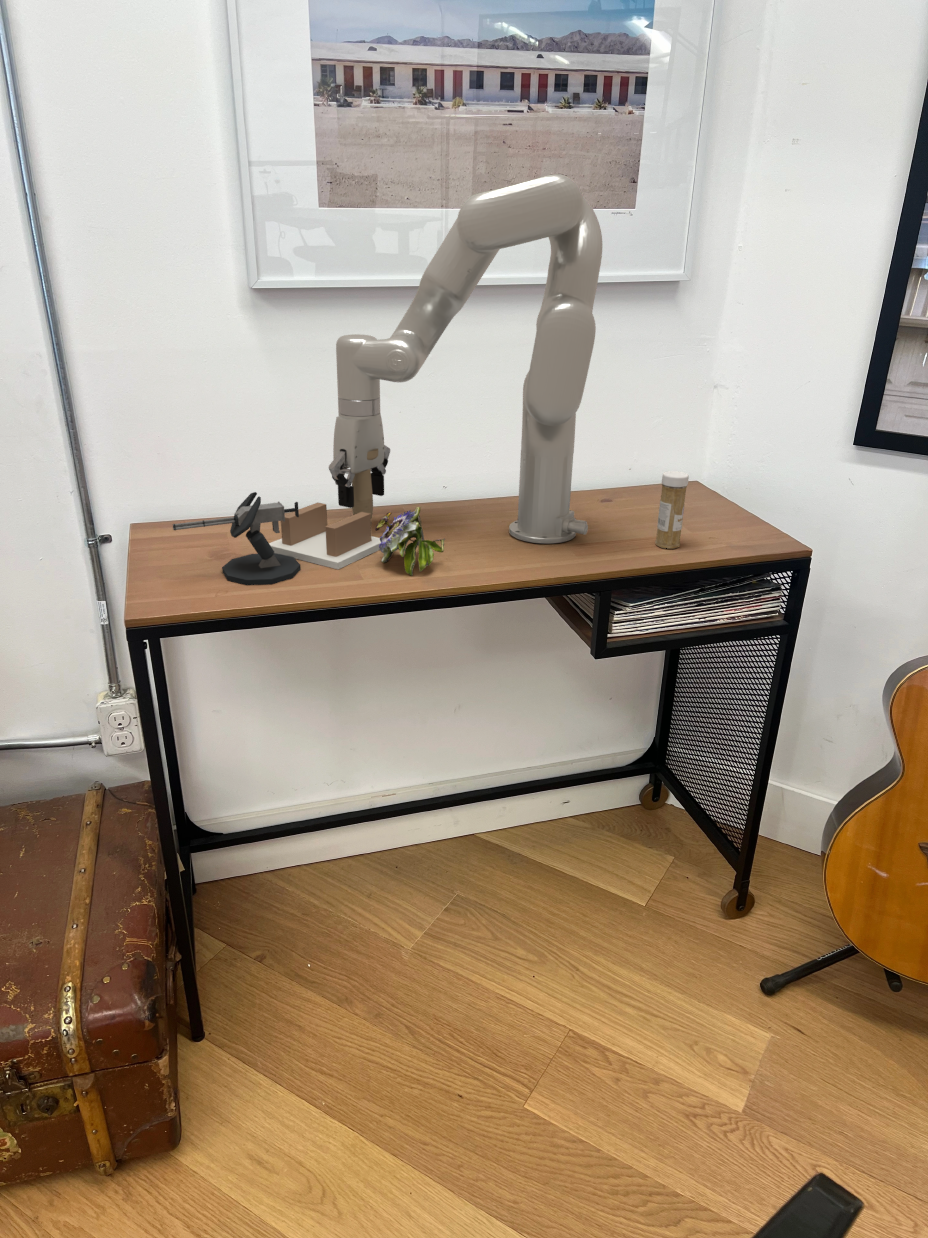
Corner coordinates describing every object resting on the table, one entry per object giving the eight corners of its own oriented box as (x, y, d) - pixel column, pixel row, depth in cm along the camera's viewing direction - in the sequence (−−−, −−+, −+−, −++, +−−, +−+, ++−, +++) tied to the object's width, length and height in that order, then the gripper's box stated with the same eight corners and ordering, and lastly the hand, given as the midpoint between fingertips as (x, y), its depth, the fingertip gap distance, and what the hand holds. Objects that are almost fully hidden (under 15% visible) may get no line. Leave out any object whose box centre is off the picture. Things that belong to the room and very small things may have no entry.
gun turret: (174, 570, 144) (164, 494, 139) (292, 553, 152) (287, 481, 147) (188, 597, 134) (178, 516, 128) (314, 577, 142) (310, 501, 136)
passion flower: (387, 592, 151) (369, 527, 153) (447, 576, 153) (429, 512, 154) (388, 578, 140) (369, 508, 142) (453, 561, 141) (433, 492, 143)
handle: (381, 530, 164) (379, 451, 158) (346, 532, 163) (343, 452, 157) (378, 522, 168) (377, 445, 162) (345, 524, 167) (342, 446, 161)
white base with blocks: (387, 546, 156) (386, 512, 154) (338, 569, 145) (336, 534, 143) (318, 529, 164) (316, 497, 161) (266, 551, 153) (263, 517, 150)
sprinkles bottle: (682, 549, 157) (692, 476, 152) (657, 549, 157) (666, 476, 152) (676, 541, 162) (685, 470, 156) (651, 541, 161) (659, 469, 156)
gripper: (371, 397, 165) (373, 486, 172) (311, 412, 151) (316, 508, 158) (404, 402, 161) (404, 493, 168) (345, 417, 148) (348, 515, 155)
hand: (361, 500), depth 163 cm, fingers open, 8 cm apart
